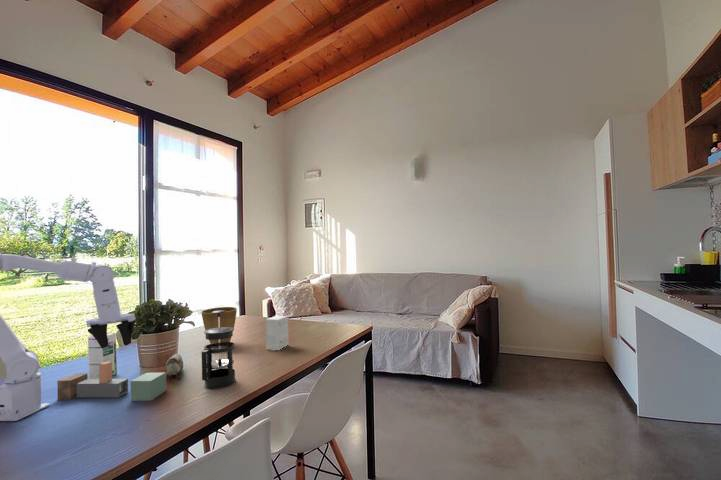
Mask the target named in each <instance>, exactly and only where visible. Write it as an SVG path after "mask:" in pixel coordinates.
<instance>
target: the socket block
mask: <svg viewBox="0 0 721 480" xmlns="http://www.w3.org/2000/svg"><path fill="white" fill-rule="evenodd" d="M166 378H167V371H166V372H146V373H144V374H141V375H139V376H138V377H136V378H134V379H132V380H130V401H152V400H154V399H155V398H157V397H158V396H161V395H162V394H163V393H165V392H166V391H167V380H166Z"/></svg>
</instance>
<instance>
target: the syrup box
mask: <svg viewBox="0 0 721 480" xmlns="http://www.w3.org/2000/svg"><path fill="white" fill-rule="evenodd" d="M107 338H108V346H107V347H105V348H103V349H101V347H100V345H99V343H98V342H97V340H96V339H95V338H94V336H93V335H91V336H88V337H87V350H88V351H87V353H88V354H87V355H88V358H87V359H88V379H99V364H101V363H103V362H112V376H114V375H117V373H118V368H117V367H118V366H117V363H118V362H117V334H116V332H107Z"/></svg>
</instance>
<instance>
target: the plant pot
mask: <svg viewBox="0 0 721 480" xmlns="http://www.w3.org/2000/svg"><path fill="white" fill-rule="evenodd" d="M217 310H224V311H226V312H223V313H221V314H220V327H232V328H234V329H235V325H236V320H237V311H238V309H237V307H234V306H221V307H211V308H208V309H204V310H201V312H200V313H201V319H202V323H203V326H204V329H205V330H208V329H212V328H218V327H219V326H218V317H217V313H212V312H213V311H217ZM205 330H204V331H205ZM231 341H232V337H229V338H226V339H220V342H231ZM208 342H209V344H212V343H217V342H219V340H208ZM217 348H219V346H218V347H217ZM220 348H222V347H221V346H220Z"/></svg>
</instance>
